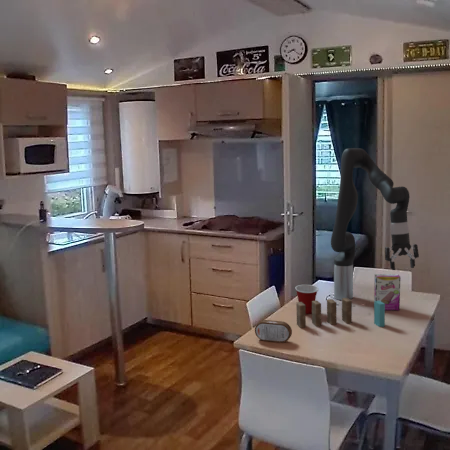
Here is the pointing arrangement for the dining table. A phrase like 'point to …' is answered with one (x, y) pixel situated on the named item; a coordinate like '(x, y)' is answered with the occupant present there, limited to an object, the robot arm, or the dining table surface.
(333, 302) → the walnut domino
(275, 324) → the tin
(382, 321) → the teal domino
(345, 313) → the walnut domino
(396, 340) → the dining table surface
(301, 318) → the walnut domino
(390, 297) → the candy bar box
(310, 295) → the plastic cup
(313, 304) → the walnut domino
